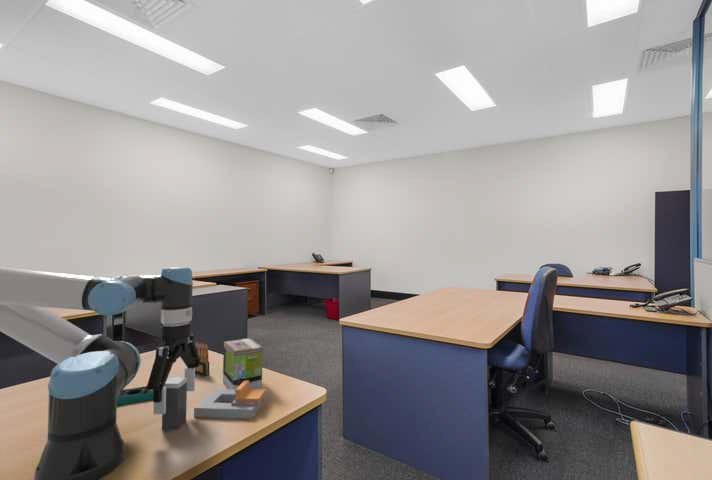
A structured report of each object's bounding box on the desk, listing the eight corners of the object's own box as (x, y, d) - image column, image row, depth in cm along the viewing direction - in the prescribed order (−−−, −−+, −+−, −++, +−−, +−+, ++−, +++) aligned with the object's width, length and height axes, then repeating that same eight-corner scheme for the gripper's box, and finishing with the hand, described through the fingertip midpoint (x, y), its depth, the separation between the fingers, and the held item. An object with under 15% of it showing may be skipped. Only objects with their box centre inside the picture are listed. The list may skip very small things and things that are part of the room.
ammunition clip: (187, 371, 128) (187, 341, 129) (191, 370, 130) (191, 339, 130) (205, 376, 123) (205, 344, 124) (209, 375, 125) (210, 343, 125)
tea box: (263, 389, 112) (263, 346, 112) (232, 397, 106) (233, 351, 107) (249, 376, 124) (250, 336, 125) (222, 381, 118) (222, 340, 119)
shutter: (258, 404, 96) (258, 390, 96) (235, 403, 96) (235, 389, 96) (266, 393, 102) (266, 380, 103) (244, 393, 103) (244, 380, 103)
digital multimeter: (158, 400, 105) (159, 390, 105) (101, 409, 98) (101, 400, 98) (160, 391, 111) (161, 382, 111) (107, 400, 105) (107, 390, 105)
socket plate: (252, 418, 92) (252, 406, 93) (193, 416, 93) (194, 405, 93) (266, 398, 105) (267, 387, 106) (215, 396, 106) (215, 386, 106)
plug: (177, 429, 87) (178, 383, 87) (161, 428, 87) (162, 383, 87) (186, 421, 91) (187, 377, 91) (171, 420, 91) (172, 377, 92)
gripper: (160, 335, 77) (159, 426, 77) (212, 314, 102) (211, 382, 102) (130, 334, 78) (128, 425, 77) (188, 314, 103) (188, 382, 102)
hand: (175, 401), depth 89 cm, fingers open, 13 cm apart
